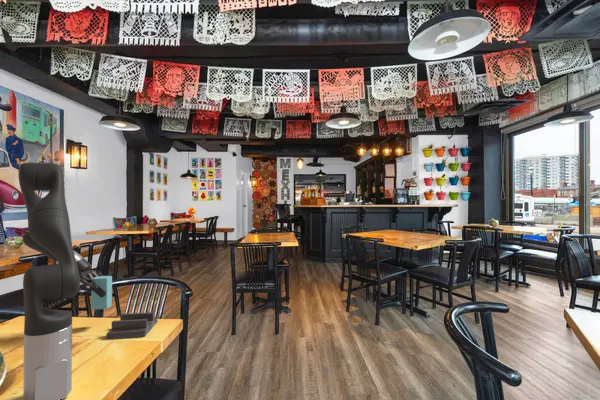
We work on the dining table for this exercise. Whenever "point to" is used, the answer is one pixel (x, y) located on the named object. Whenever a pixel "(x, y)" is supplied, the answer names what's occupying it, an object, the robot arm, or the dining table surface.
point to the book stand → (132, 325)
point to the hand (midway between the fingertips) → (107, 293)
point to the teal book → (106, 286)
